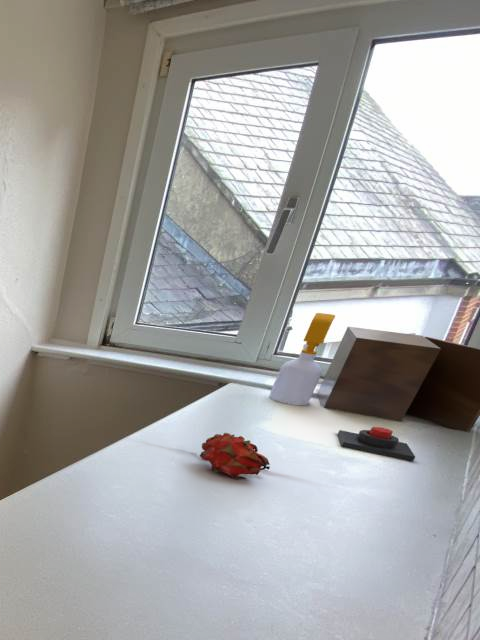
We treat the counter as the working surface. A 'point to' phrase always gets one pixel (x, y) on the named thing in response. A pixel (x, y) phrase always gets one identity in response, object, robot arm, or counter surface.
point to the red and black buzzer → (375, 445)
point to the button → (381, 432)
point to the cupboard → (377, 372)
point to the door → (450, 387)
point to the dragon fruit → (233, 455)
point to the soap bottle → (302, 367)
